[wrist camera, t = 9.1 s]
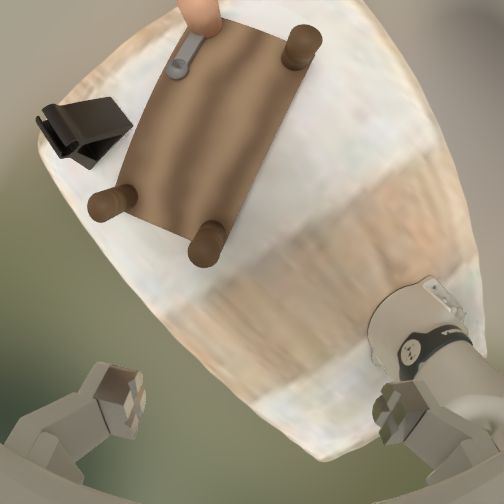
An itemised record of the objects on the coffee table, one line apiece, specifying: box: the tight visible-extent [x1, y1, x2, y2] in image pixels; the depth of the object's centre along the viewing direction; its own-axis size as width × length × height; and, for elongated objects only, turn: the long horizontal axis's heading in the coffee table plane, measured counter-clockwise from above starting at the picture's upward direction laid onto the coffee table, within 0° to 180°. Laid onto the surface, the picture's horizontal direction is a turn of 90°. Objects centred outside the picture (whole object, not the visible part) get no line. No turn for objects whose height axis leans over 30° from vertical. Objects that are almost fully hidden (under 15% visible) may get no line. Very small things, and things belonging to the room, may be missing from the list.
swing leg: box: [166, 0, 222, 80], centre depth 24 cm, size 10×4×8 cm, turn 153°
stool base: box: [87, 18, 322, 268], centre depth 29 cm, size 16×28×10 cm, turn 155°
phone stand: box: [36, 97, 133, 170], centre depth 28 cm, size 9×6×12 cm, turn 127°
